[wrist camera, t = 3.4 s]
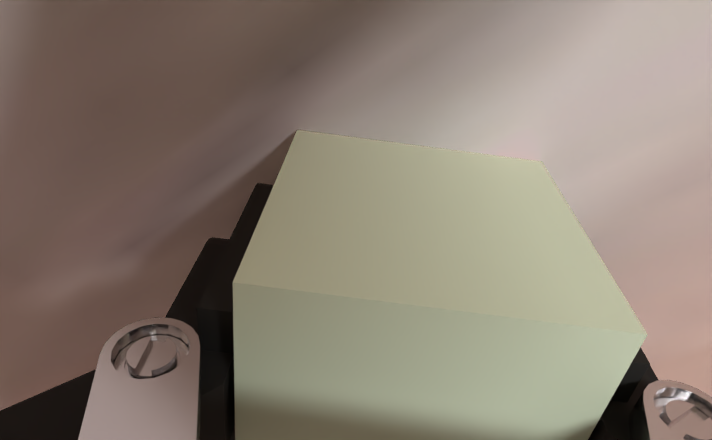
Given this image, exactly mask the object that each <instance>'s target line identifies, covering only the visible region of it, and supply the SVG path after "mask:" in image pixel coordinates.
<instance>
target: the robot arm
mask: <svg viewBox="0 0 712 440" xmlns="http://www.w3.org/2000/svg"><path fill="white" fill-rule="evenodd" d="M273 186H274V185H269V184H261V183H257V184H256V186H255V188H254V190H253V192H252V194H251V196H250V198H249V201H248V203H247V205H246V207H245V209H244V211H243V213H242V215H241V217H240V219H239V221H238V223H237V225H236V227H235V229H234V231H233V233H232V236H231V238H230V240H229V239H221V238H213V237H212V238H210V239H209V240H208V241H207V243H206V244H205V246H204V248H203V250H202V252H201V253H200V255H199V257H198V259H197V261H196V262H195V264H194V266H193V268H192V270H191V272H190V273H189V275H188V277H187V279H186V281H185V282H184V284H183V286H182V288H181V290H180V291H179V293H178V295H177V297H176V299H175V301H174V302H173V304H172V306H171V308H170V310H169V311H168V313H167V315H166V317H165V318H160V317H155V318H149V319H143V320H139V321H137V322H134V323H131V324H129V325H126V326H125V327H123V328H122V329H120V330H118V331H117V332H115V333H114V334H113V335H112V336H111V337H110V338H109V339H108V340H107V341H106V343H105V344H104V346H103V349H102V351H101V353H100V356H99V360H98V363H97V367H96V370H93V371H91V372H89V373H86V374H84V375H82V376H80V377H77V378H75V379H73V380H70V381H68V382H66V383H63V384H61V385H59V386H57V387H54V388H52V389H50V390H47V391H45V392H43V393H40V394H38V395H36V396H34V397H31V398H29V399H27V400H24V401H22V402H20V403H17V404H15V405H13V406H11V407H8V408H6V409H4V410H1V411H0V440H235V396H234V334H233V280H234V278H235V276H236V273H237V271H238V269H239V266H240V264H241V261H242V259H243V257H244V254H245V252H246V250H247V247H248V245H249V243H250V240H251V238H252V235H253V233H254V231H255V228H256V226H257V224H258V221H259V219H260V217H261V214H262V212H263V209H264V207H265V205H266V202H267V200H268V198H269V195H270V193H271V190H272V188H273ZM588 440H712V397H711V396H709V395H707V394H706V393H704V392H702V391H701V390H699V389H697V388H694V387H692V386H689V385H687V384H684V383H681V382H676V381H671V380H658V379H657V377H656V375H655V373H654V372H653V370H652V368H651V366H650V363H649V361H648V360H647V358H646V356H645V354H644V353H643V351H642V349H641V347H640V349H639V351H638V352H637V354H636V356H635V358H634V359H633V361H632V363H631V365H630V366H629V368H628V370H627V372H626V373H625V375H624V377H623V379H622V380H621V382H620V384H619V386H618V387H617V389H616V391H615V393H614V394H613V396H612V398H611V400H610V401H609V403H608V405H607V407H606V409H605V410H604V412H603V414H602V416H601V417H600V419H599V421H598V423H597V424H596V426H595V428H594V430H593V431H592V433H591V435H590V437H589V438H588Z"/></svg>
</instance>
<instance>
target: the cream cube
mask: <svg viewBox="0 0 712 440" xmlns="http://www.w3.org/2000/svg"><path fill="white" fill-rule="evenodd" d="M233 334H234V396H235V440H588V438H589V437H590V435H591V433H592V431H593V430H594V428H595V426H596V424H597V423H598V421H599V419H600V417H601V416H602V414H603V412H604V410H605V409H606V407H607V405H608V403H609V401H610V400H611V398H612V396H613V394H614V393H615V391H616V389H617V387H618V386H619V384H620V382H621V380H622V379H623V377H624V375H625V373H626V372H627V370H628V368H629V366H630V365H631V363H632V361H633V359H634V358H635V356H636V354H637V352H638V351H639V349H640V347H641V345H642V344H643V342H644V340H645V338H646V337H647V335H648V334H647V333H646V331H645V330H644V328H643V326H642V325H641V323H640V321H639V320H638V318H637V316H636V315H635V313H634V312H633V310H632V308H631V307H630V305H629V303H628V302H627V300H626V298H625V297H624V295H623V294H622V292H621V290H620V289H619V287H618V285H617V284H616V282H615V280H614V279H613V277H612V276H611V274H610V272H609V271H608V269H607V267H606V266H605V264H604V262H603V261H602V259H601V258H600V256H599V254H598V253H597V251H596V249H595V248H594V246H593V244H592V243H591V241H590V240H589V238H588V236H587V235H586V233H585V231H584V230H583V228H582V226H581V225H580V223H579V222H578V220H577V218H576V217H575V215H574V213H573V212H572V210H571V208H570V207H569V205H568V204H567V202H566V200H565V199H564V197H563V195H562V194H561V192H560V190H559V189H558V187H557V186H556V184H555V182H554V181H553V179H552V177H551V176H550V174H549V172H548V171H547V169H546V168H545V166H544V164H543V163H542V161H534V160H526V159H519V158H511V157H503V156H496V155H488V154H480V153H473V152H465V151H457V150H449V149H442V148H434V147H426V146H419V145H411V144H403V143H395V142H388V141H380V140H372V139H365V138H357V137H349V136H341V135H334V134H326V133H318V132H311V131H303V130H297V131H296V134H295V136H294V138H293V141H292V143H291V146H290V148H289V150H288V153H287V155H286V157H285V160H284V162H283V164H282V167H281V169H280V172H279V174H278V176H277V179H276V181H275V183H274V186H273V188H272V190H271V193H270V195H269V198H268V200H267V202H266V205H265V207H264V209H263V212H262V214H261V217H260V219H259V221H258V224H257V226H256V228H255V231H254V233H253V235H252V238H251V240H250V243H249V245H248V247H247V250H246V252H245V254H244V257H243V259H242V261H241V264H240V266H239V269H238V271H237V273H236V276H235V278H234V280H233Z"/></svg>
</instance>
